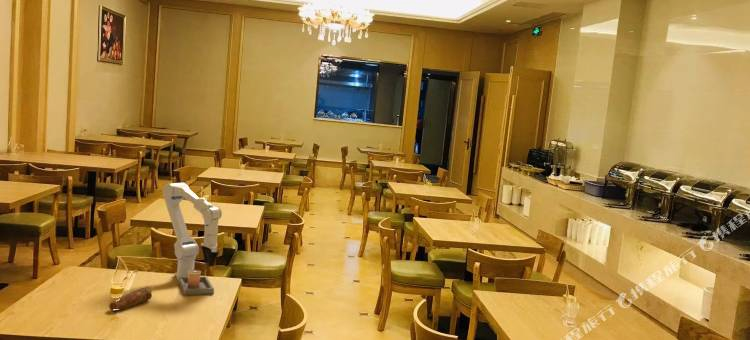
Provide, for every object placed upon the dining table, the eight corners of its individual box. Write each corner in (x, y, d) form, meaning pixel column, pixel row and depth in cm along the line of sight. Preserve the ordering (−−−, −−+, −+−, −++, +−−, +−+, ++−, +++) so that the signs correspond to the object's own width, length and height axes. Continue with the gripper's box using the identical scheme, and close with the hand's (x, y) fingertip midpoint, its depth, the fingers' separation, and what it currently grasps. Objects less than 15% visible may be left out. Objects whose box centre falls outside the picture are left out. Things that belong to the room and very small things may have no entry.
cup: (186, 285, 278) (186, 270, 277) (198, 284, 280) (199, 269, 279) (188, 289, 273) (189, 273, 272) (201, 288, 275) (202, 273, 274)
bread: (152, 301, 257) (153, 288, 256) (116, 314, 239) (116, 299, 239) (141, 297, 259) (141, 284, 259) (103, 310, 242) (104, 296, 241)
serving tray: (178, 282, 283) (179, 277, 282) (206, 281, 288) (206, 276, 287) (184, 295, 266) (185, 289, 266) (213, 294, 271) (214, 288, 271)
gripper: (198, 230, 286) (196, 259, 287) (205, 238, 273) (203, 268, 275) (213, 230, 289) (211, 259, 291) (222, 237, 277) (220, 267, 278)
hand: (209, 263), depth 283 cm, fingers open, 7 cm apart
